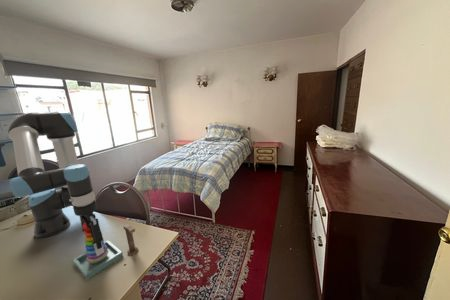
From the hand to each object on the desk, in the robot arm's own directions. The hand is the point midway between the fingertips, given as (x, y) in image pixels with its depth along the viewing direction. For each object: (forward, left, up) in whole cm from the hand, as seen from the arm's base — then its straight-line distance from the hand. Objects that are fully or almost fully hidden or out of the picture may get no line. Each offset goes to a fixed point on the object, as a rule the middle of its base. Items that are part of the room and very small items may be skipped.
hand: (96, 249), depth 82 cm
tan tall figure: (+8, +11, -6) cm, 15 cm away
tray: (0, 0, -6) cm, 6 cm away
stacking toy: (0, 0, -4) cm, 4 cm away
